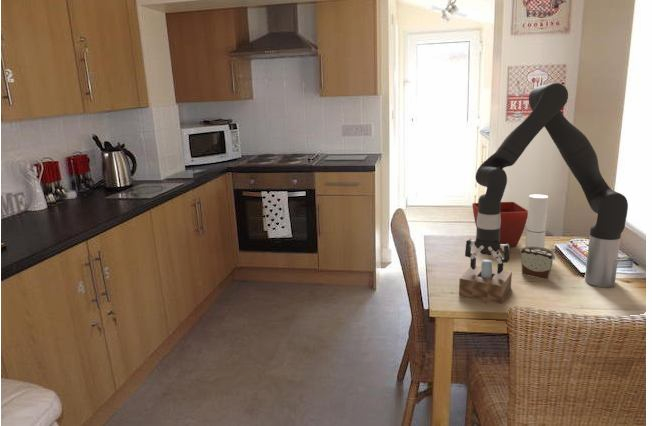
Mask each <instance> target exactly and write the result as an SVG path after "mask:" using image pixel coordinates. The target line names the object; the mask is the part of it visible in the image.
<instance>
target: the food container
mask: <svg viewBox="0 0 652 426" xmlns="http://www.w3.org/2000/svg"><path fill="white" fill-rule="evenodd" d="M519 254H520V256H521V257H520V259H521V274H522V275H524V276H528V277H533V278H536V279H541V280H545V281H549V279H550V274H551V270H552V266H553V261H555V260H556V257H555V253H554V251H553V250H551V249H549V248H546V247H544V248H542V247H525V246H524V247H522V248H521V249H520V250H519Z"/></svg>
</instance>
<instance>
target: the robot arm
mask: <svg viewBox="0 0 652 426" xmlns="http://www.w3.org/2000/svg"><path fill="white" fill-rule="evenodd" d="M568 99H569V91H568V89H567V88H566V86H565V85H563V84H562V83H560V82H551V83H550V82H549V83H547V84H543V85H542V84H541V85H539V86H537V87H534V88H533V89H531V91H530V92H529V95H528V105H529V107H530V109H531V112H530V113H529V115H528V116H527V117H526V118H525V119H524V120H523V121H522V122H521V123H520V124H518V126H516V127H515V128H513V130H511V132H510V133H509V134H508V135H507V136H506V137H505V139H504V140H503V141H502V142H501V144H500V145H499V146H498V148H497V150H496V151H495V152H494V153H493V154H491V155H490V156H489V157H488V158H487V159H486V160H484V162H482V164H480V166H479V167H478V169H477V170H476V173H475V181H476V183H477V184H478V185H480V186H482V187H485V188H486V192H485V194H483V193H482V194H481V195H480V196H479V197H478V198H479V199H478V203H479V204H478V216H477V228H476V233H475V234H476V235H475V236H476V237H475V240H474V239H472V238H468V239H467V240H466V242H465V252H464V256H465V257H466V258H469V259H470V263H469V264H470V266H471V268H472V269H473V270H474V269H475V268H476V266H477V258H476V257H477V256H478V255H479V254H481V255H488V256H493V258H494V259H495V260H496V261H497V262H498V263H497V273H498V274H500V273H501V272H502V271H504V264H505V263H506V264H507V263H509V261H510V260H511V259H510V258H511V255H510V252H511V251H510V250H511V249H510V248H511V247H510V245H509V244H500V225H501V216H500V211H501V202H502V199H503V196H504V194H505V191H506V187H507V185H508V177H507V173H506V171H505V170H504V168H507V167H508V168H509V167H512V166H514V164H515V163H517V161H518V159H519V158H520V157H521V156H522V154H523V153H524V152H525V150H526V149H527V148H528V146H529V145H530V143H532V142H533V139H535V137H536V136H537V135H538V134H539V133H540V131H541V130H543V128H545V130H546V131H547V133H548V134H549V136H550V138H551V140H552V141H553V143H554V145H555V147H556V148H557V150H558V152H559V153H560V155H561V158H562V159H563V161H564V162H565V165H567V167H568V169H569V170H570V171H571V173H572V175H573V176H574V178H575V179H576V180H577V182H578V183H579V185H580V186H581V189H582V191H583V193H584V196H585V198H586V200H587V203H588V205H589V207H590V209H591V210H592V211H593V212H594V213H595V214H597V218H596V223H595V224H594V225H592V226H591V227H590V230H589V240H588V249H587V258H586V266H585V274H584V275H585V277H584V281H585V283H587V284H588V285H591V286H594V287H598V288H599V287H600V288H615V285H616V279H617V278H616V277H617V270H618V269H617V268H618V263H619V261H618V260H619V253H620V252H619V251H620V246H621V245H620V244H621V243H620V242H621V238H622V233H623V232H624V229H625V227H626V222H627V216H628V210H629V204H628V203H629V202H628V199H627V197H626V196H625V195H624V194H622V193H620V192H618V191H616V190H613V189H612V188H611V187H610V186H609V185H608V183H607V182H606V181H605V179H604V177H603V176H602V174H601V171H600V165H599V159H598V156H597V153H596V151H595V149H594V147H593V145H592V143H591V141H590V140H589V139H588V137H587V136H586V135H585V134H584V133H583V132H582V131H581V130H580V129H579V128H577V127H576V126H575V125H574V124H572V123H571V122H570V121H569V120H568V119H567V118H566V117H565V115H564V113H563V112H562V111H561V110H562V109H564V108H565V106H566V104H567V103H568V101H569V100H568ZM473 246H475V247H476V250H475V251H474V252H473V253H472V252H471V251H472V247H473ZM500 248H501V250H502V251H503V256H502V254H501V252H500V250H499V249H500ZM470 266H469V267H470Z"/></svg>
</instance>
